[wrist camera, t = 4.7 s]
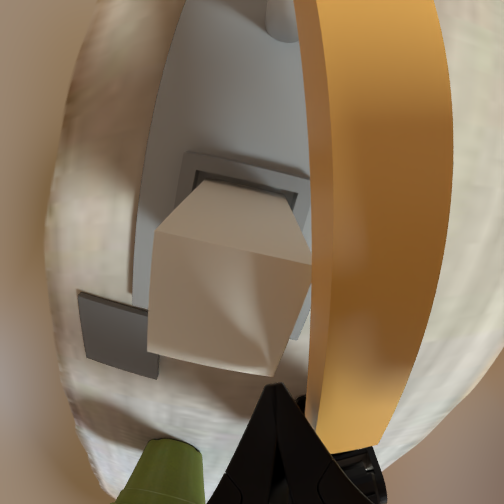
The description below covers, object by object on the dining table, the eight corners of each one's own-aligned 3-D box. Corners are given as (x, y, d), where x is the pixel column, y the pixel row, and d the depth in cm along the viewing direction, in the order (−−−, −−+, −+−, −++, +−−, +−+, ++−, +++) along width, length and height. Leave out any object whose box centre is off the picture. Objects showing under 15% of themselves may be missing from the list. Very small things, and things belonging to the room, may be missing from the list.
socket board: (295, 331, 21) (316, 453, 11) (136, 297, 20) (75, 405, 10) (383, 44, 13) (489, -8, 3) (192, -4, 12) (139, -102, 2)
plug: (264, 264, 18) (272, 376, 9) (193, 248, 17) (147, 351, 9) (284, 195, 16) (317, 266, 8) (206, 177, 16) (154, 230, 7)
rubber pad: (158, 375, 23) (156, 379, 23) (89, 353, 22) (86, 357, 22) (161, 315, 20) (159, 319, 20) (81, 292, 20) (77, 296, 19)
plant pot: (211, 430, 27) (201, 520, 16) (225, 469, 31) (221, 537, 21) (115, 420, 27) (89, 496, 17) (147, 462, 32) (133, 523, 21)
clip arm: (260, -103, 3) (261, -141, 1) (361, -92, 3) (381, -123, 1) (296, 414, 10) (302, 457, 8) (371, 402, 9) (385, 442, 8)
